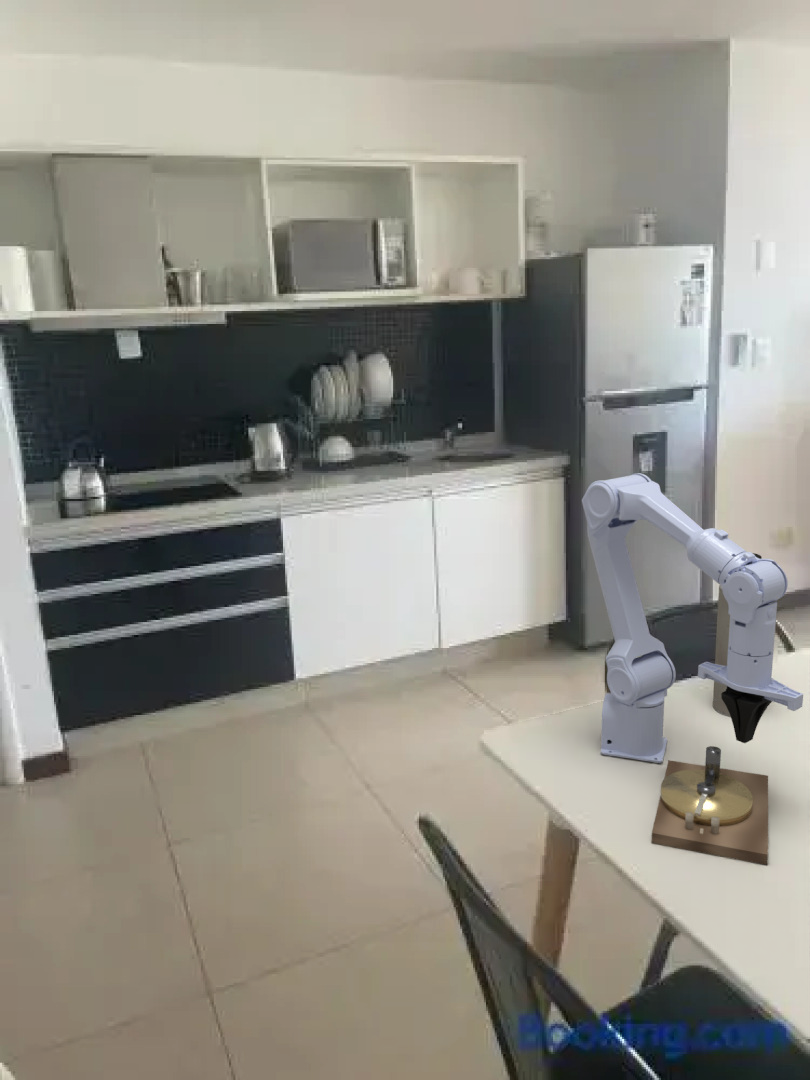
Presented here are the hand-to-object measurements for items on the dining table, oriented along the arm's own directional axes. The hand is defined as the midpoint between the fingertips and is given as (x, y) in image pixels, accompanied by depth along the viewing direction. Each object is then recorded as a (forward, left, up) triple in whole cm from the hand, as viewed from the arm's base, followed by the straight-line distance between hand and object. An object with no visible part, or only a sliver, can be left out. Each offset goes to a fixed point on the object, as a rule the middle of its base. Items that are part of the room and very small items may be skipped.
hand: (744, 739), depth 117 cm
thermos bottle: (-1, +30, -10) cm, 32 cm away
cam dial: (-5, -5, -8) cm, 10 cm away
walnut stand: (-3, -5, -9) cm, 11 cm away
